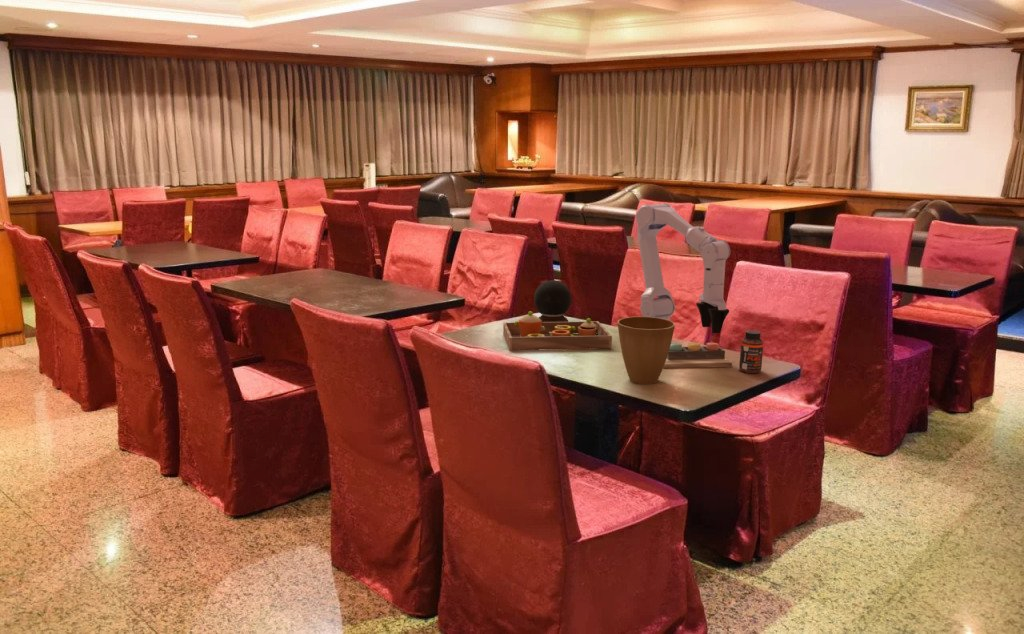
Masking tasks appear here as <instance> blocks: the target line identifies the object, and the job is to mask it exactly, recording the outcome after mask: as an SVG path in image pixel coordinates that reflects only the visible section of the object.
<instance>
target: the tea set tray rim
mask: <svg viewBox="0 0 1024 634" xmlns="http://www.w3.org/2000/svg"><path fill="white" fill-rule="evenodd" d="M514 322H515V321H513V322H511V321H510V322H503V324H502V325H503V327H502V329H503V331H502V334H503V338H504V340H505V343H506V345H507V348H508V350H509V351H510V352H511V351H540V350H539V349H568V350H593V349H592V348H598V349H597V350H600V349H599V348H610V349H609V350H611V348H613V347H612V345H613V344H612V343H613V336H612V334H611V333H610V332H609V331H608V330H607V329H606V328H605V327H604V326H603V325H602V324H601V323H600V322H599V320H597V321H596V320H594V321H593V320H591V322H592V323H594V324H595V325H596V333H597V334H598V335H597V334H596V335H595V336H579V335H574V336H550V334H549V332H552V331H554V330H555V326H557V325H567V326H571V327H572V326H574V327H575V330H574V331H572V330H571V331H570V333H579V331H578V327H579V326H581V324H583V323H584V322H587V321H568V322H542V324H541V326H544V328H545V330H542V331H540V334H543V335H547V336H545V337H521V336H520V329H519V325H518V326H515V325H514ZM515 335H516V336H515ZM590 348H591V349H590Z"/></svg>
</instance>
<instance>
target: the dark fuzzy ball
mask: <svg viewBox="0 0 1024 634" xmlns="http://www.w3.org/2000/svg"><path fill="white" fill-rule="evenodd" d="M534 292H535V293H534V295H533V302H534V306H535V308H536V310H537V312H538V313H539V314H540V316H537V317H538V318H539V319H540V320H541V321H542V322H569V320H568V317H566V316H565V314H566V313H567V312H568V311H569V310H570V309H571V308H570V307H571V305H572V299H573V298H572V297H573V296H572V294H571V291H570V288H569V287H568V286H567V285H566V284H565V283H563V282H562V281H560V280H554V279H551V280H546V281H545V282H543V283H541V284H540V285H539V286H538V287H537V288H536V289H535V291H534Z"/></svg>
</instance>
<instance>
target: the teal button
mask: <svg viewBox="0 0 1024 634" xmlns="http://www.w3.org/2000/svg"><path fill="white" fill-rule="evenodd" d="M682 347H683V344H682V343H677V342H673V343H672V342H671V345H670V349H669V351H682Z"/></svg>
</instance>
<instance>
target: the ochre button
mask: <svg viewBox="0 0 1024 634" xmlns="http://www.w3.org/2000/svg"><path fill="white" fill-rule="evenodd" d="M687 347H688V351H700V347H701V343H698V342H689V343H687Z"/></svg>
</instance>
